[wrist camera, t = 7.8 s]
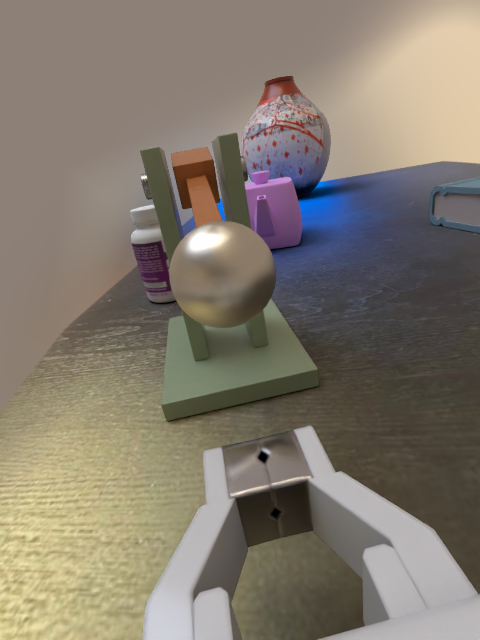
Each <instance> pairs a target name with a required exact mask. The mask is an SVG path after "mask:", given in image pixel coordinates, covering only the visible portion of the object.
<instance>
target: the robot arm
mask: <svg viewBox="0 0 480 640" xmlns="http://www.w3.org/2000/svg"><path fill="white" fill-rule="evenodd" d="M203 465H204V480H205V495H206V505H203V506H200V508H199V509H198V511H197V513H196V515H195V517H194V518H193V520H192V522H191V524H190V526H189V527H188V529H187V531H186V533H185V535H184V536H183V538H182V540H181V542H180V543H179V545H178V547H177V549H176V551H175V552H174V554H173V556H172V558H171V560H170V561H169V563H168V565H167V567H166V569H165V570H164V572H163V574H162V576H161V578H160V579H159V581H158V583H157V585H156V587H155V588H154V590H153V592H152V594H151V595H150V597H149V599H148V601H147V603H146V607H145V618H144V629H143V640H242V637H241V634H240V630H239V627H238V624H237V621H236V617H235V614H234V611H233V608H232V604H231V602H232V599H233V596H234V593H235V589H236V586H237V583H238V580H239V577H240V574H241V571H242V567H243V564H244V561H245V558H246V555H247V552H248V547H251V546H254V545H257V544H261V543H264V542H268V541H271V540H275V539H278V538H282V537H287V536H291V535H295V534H300V533H304V532H309V531H313V530H314V533H315V534H316V535H317V536H318V537H319V538H320V539H321V540H322V541H323V542H324V543H325V544H326V545H327V546H328V547H330V548H331V549H332V550H333V551H334V552H335V553H336V554H337V555H338V556H339V557H340V558H341V559H342V560H343V561H344V562H345V563H346V564H347V565H348V566H349V567H350V568H351V569H352V570H353V571H354V572H355V573H356V574H357V575H358V576H359V577H361V578H362V579H363V621H364V624H365V626H364V627H361V628H357V629H353V630H350V631H346V632H343V633H339V634H335V635H332V636H328V637H325V638H321V639H318V640H480V594H479V595H478V593H477V592H476V590H475V589H474V587H473V586H472V584H471V583H470V581H469V580H468V579H467V577H466V576H465V574H464V573H463V571H462V570H461V568H460V567H459V565H458V564H457V563H456V561H455V560H454V558H453V557H452V555H451V554H450V552H449V551H448V549H447V548H446V547H445V545H444V544H443V542H442V541H441V539H440V538H439V536H438V535H437V533H436V532H435V531H434V529H433V528H431V527H429V526H428V525H426V524H425V523H423V522H421V521H420V520H418V519H417V518H415V517H413V516H412V515H410V514H409V513H407V512H405V511H404V510H402V509H401V508H399V507H397V506H396V505H394V504H393V503H391V502H389V501H388V500H386V499H385V498H383V497H381V496H380V495H378V494H377V493H375V492H374V491H372V490H370V489H369V488H367V487H366V486H364V485H362V484H361V483H359V482H358V481H356V480H354V479H353V478H351V477H350V476H348V475H346V474H345V473H343V472H342V471H341V472H335V470H334V468H333V466H332V464H331V462H330V460H329V458H328V456H327V454H326V452H325V450H324V448H323V446H322V444H321V442H320V440H319V438H318V436H317V434H316V432H315V430H314V428H313V427H312V426H307V427H303V428H299V429H295V430H293V431H292V430H291V431H287V432H283V433H279V434H275V435H271V436H267V437H263V438H259V439H255V440H250V441H246V442H241V443H236V444H231V445H227V446H222V447H219V448H214V449H210V450H205V451H204V452H203Z"/></svg>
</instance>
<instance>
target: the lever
mask: <svg viewBox="0 0 480 640" xmlns="http://www.w3.org/2000/svg"><path fill="white" fill-rule="evenodd" d="M171 157H172V165H173V170H174V175H175V179H176V183H177V187H178V192H179V196H180V200H181V205H182V208H183V209H188V208H192V210H193V214H194V219H195V224H196V228H195V229H193V230H192V231H191V232H189V233H188V234H187V235H186V236H185V237H184V238H183V239H182V240H181V241H180V243H179V244H178V246H177V247H176V249H175V251H174V254H173V256H172V259H171V263H170V272H169V277H170V285H171V289H172V292H173V295H174V297H175V299H176V301H177V303H178V304H179V306H180V307H181V308H182V310H183V311H184V312H185V313H186V314H187V315H189V316H190V317H191V318H192V319H194V320H195V321H197V322H199V323H201V324H203V325H206V326H209V327H214V328H232V327H237V326H240V325H243V324H245V323H247V322H249V321H251V320H252V319H254V318H255V317H256V316H258V315H259V314H260V313H261V312H262V311H263V309H264V308H265V307H266V306H267V304H268V302H269V301H270V299H271V297H272V294H273V291H274V288H275V283H276V268H275V262H274V258H273V256H272V253H271V251H270V249H269V247H268V246H267V244H266V243H265V241H264V240H263V239H262V238H261V237H260V236H259V235H258V234H257V233H256V232H254V231H253V230H252V229H250V228H248V227H246V226H244V225H242V224H239V223H236V222H231V221H222V218H221V215H220V213H219V210H218V207H217V205H216V203H219V202H220V198H219V193H218V186H217V180H216V173H215V167H214V161H213V159H212V156H211V154H210V152H209V150H208V148H207V147H205V148H199V149H192V150H187V151H182V152H176V153H172V154H171Z"/></svg>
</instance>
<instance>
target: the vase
mask: <svg viewBox="0 0 480 640" xmlns="http://www.w3.org/2000/svg"><path fill="white" fill-rule="evenodd" d="M330 138H331V137H330V129H329V125H328V122H327V120H326V118H325V116H324V114H323V113H322V112H321V111H320V110H319V109H318V108H317V107H316V106H315V105H314V104H313V103H311V102H310V101H309V100H308V99H307V98H306V97H305V96H304V95H303V94H302V93H301V92H300V90H299V89H298V88H297V86H296V85H295V83H294V80H293V76H286V77H279V78H275V79H272V80H269V81H267V82H265V89H264V93H263V95H262V98H261V100H260V102H259V104H258V106H257V108H256V110H255V111H254V113H253V115H252V116H251V118H250V119H249V121H248V123H247V125H246V126H245V128H244V131H243V135H242V140H241V149H242V156H244V158H245V160H246V165H247V171H248V175H249V177H250V179H251V181H252V182H254V180H253V178H252V176H251V174H252V173H255V172H259V171H269V177H268V180H271V179H277V178H283V177H290V178H291V179H292V181H293V184H294V187H295V191H296V194H297V198H299V197H303V196H306V195H308V194H309V193H311V192H312V191H313V190H314V188H315V187H316V186H317V185H318V183H319V182H320V179H321V178H322V176H323V174H324V172H325V169H326V166H327V163H328V159H329V154H330V145H331V139H330Z"/></svg>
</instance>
